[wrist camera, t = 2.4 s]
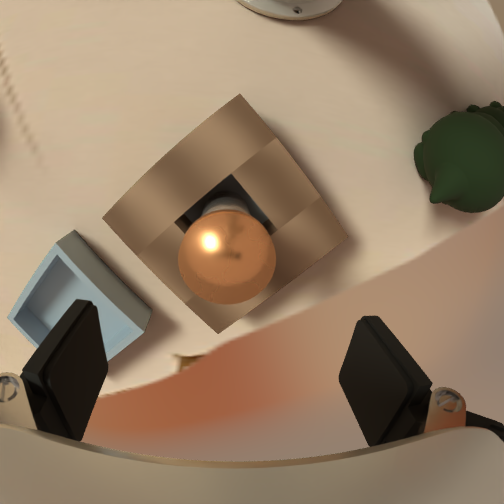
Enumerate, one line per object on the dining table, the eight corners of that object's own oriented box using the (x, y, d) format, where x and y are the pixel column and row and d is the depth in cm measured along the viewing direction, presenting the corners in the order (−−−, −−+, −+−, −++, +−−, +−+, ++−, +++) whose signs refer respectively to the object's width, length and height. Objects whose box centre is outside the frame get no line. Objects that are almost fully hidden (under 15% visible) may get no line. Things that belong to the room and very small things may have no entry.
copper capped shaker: (229, 172, 25) (233, 192, 14) (267, 217, 26) (294, 266, 16) (184, 210, 25) (158, 257, 15) (222, 252, 27) (222, 320, 17)
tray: (74, 229, 26) (55, 242, 22) (152, 310, 30) (144, 332, 26) (22, 301, 28) (7, 317, 24) (88, 364, 32) (78, 384, 28)
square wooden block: (236, 103, 24) (239, 93, 19) (328, 220, 28) (348, 236, 23) (122, 204, 26) (102, 218, 21) (218, 304, 30) (218, 334, 25)
